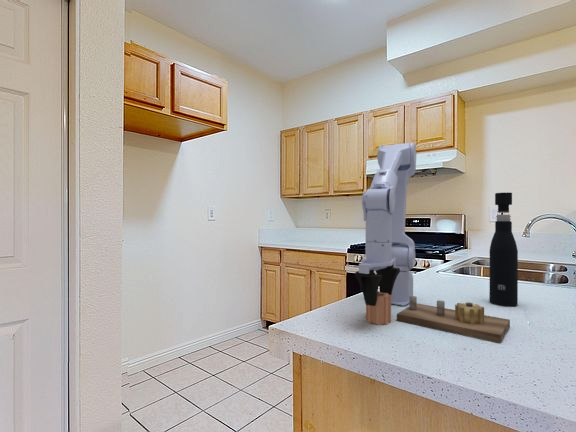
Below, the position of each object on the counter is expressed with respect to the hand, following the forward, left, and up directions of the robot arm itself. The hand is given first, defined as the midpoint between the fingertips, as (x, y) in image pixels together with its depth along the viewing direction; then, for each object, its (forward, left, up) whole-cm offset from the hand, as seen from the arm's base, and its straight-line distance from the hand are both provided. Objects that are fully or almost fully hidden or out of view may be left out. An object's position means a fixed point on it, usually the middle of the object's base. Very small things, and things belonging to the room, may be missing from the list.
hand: (378, 301), depth 74 cm
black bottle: (-36, +19, -5) cm, 41 cm away
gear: (0, 0, -4) cm, 4 cm away
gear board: (-9, +13, -4) cm, 16 cm away
